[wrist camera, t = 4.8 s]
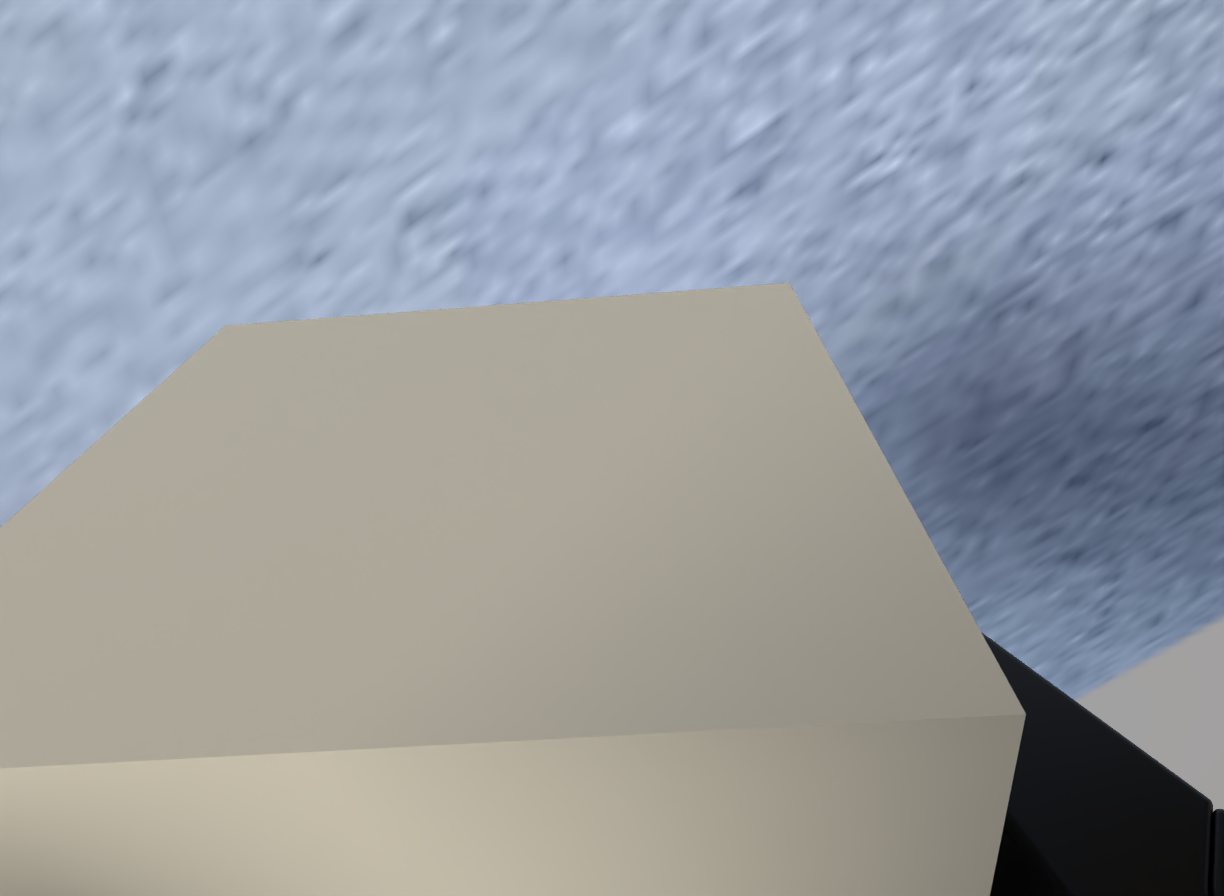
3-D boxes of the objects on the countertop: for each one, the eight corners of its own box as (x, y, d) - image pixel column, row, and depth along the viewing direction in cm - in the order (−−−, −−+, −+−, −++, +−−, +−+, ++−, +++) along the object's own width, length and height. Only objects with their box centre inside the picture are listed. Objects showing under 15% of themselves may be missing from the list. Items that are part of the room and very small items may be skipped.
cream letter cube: (351, 729, 10) (147, 1304, 6) (226, 324, 8) (-286, 782, 3) (792, 706, 10) (931, 1288, 6) (803, 281, 8) (1059, 712, 3)
